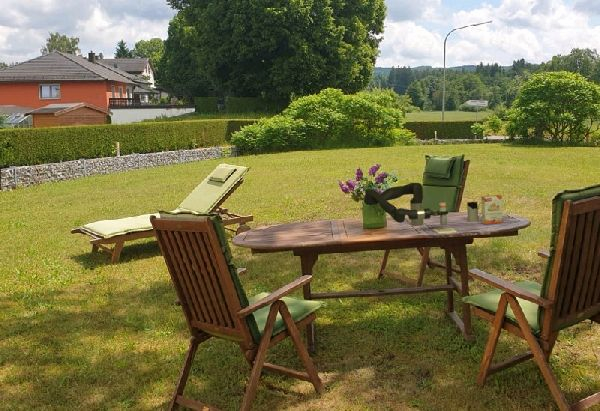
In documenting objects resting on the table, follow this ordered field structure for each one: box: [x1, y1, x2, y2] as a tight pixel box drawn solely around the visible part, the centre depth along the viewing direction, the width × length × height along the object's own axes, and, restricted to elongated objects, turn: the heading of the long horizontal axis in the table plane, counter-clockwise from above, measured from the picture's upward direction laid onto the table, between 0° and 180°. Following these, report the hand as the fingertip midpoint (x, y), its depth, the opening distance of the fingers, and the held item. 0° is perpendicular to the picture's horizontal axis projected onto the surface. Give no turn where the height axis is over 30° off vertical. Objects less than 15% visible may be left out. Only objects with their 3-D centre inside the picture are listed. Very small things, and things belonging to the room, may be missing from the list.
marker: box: [438, 201, 448, 226], centre depth 423 cm, size 5×5×16 cm
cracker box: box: [480, 194, 503, 225], centre depth 443 cm, size 14×6×21 cm, turn 101°
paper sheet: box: [432, 227, 457, 234], centre depth 424 cm, size 16×13×1 cm
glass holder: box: [466, 201, 482, 223], centre depth 460 cm, size 9×14×15 cm, turn 104°
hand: (446, 212), depth 422 cm, fingers closed on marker, 4 cm apart
